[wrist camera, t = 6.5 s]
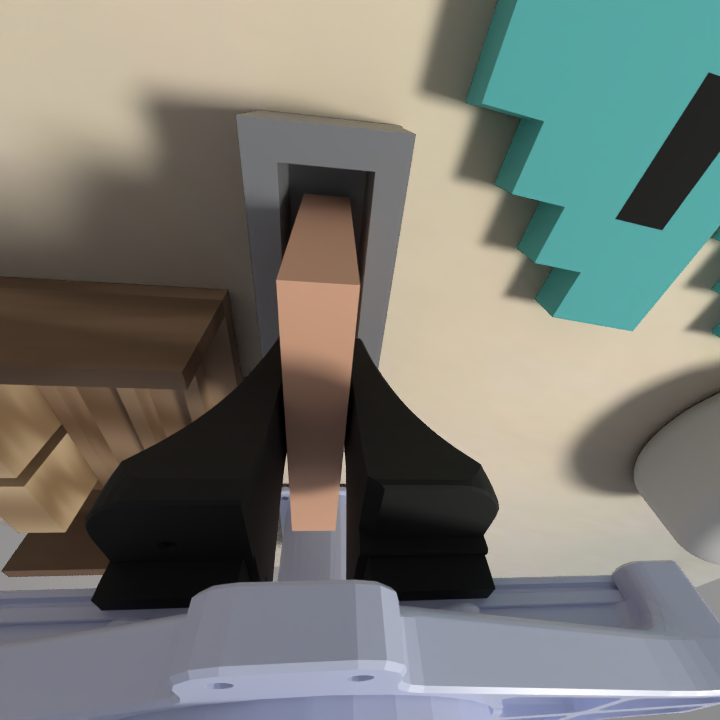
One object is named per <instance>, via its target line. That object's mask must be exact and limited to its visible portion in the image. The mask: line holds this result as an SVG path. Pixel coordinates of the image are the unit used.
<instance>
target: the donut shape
mask: <svg viewBox="0 0 720 720" xmlns="http://www.w3.org/2000/svg"><path fill="white" fill-rule="evenodd" d="M634 482H635V485H636V488H637V490H638V492H639V493H640V495H641V496H642V497H643V498H644V500H645V501H646V502H647V504H648V505H649V506H650V508H651V509H652V510H653V512H654V513H655V514H656V515H657V517H658V518H659V519H660V521H661V522H662V523H663V525H664V526H665V527H666V529H667V530H668V531H669V532H670V534H671V535H672V536H673V538H674V539H675V540H676V541H677V543H678V544H679V545H680V546H681V547H683V548H684V549H685V550H686V551H688V552H689V553H691V554H692V555H694V556H696V557H698V558H700V559H702V560H704V561H707V562H710V563H714V564H718V565H720V393H718V394H715V395H713V396H711V397H709V398H707V399H705V400H703V401H702V402H700V403H698V404H696V405H694V406H693V407H691V408H689V409H688V410H686V411H685V412H683V413H682V414H680V415H679V416H677V417H676V418H674V419H673V420H672V421H670V422H669V423H668V424H666V425H665V426H664V427H663V428H662V429H661V430H659V431H658V432H657V433H656V434H655V435H654V436H653V437H652V438H651V439H650V440H649V442H648V443H647V444H646V445H645V447H644V448H643V449H642V451H641V453H640V454H639V456H638V458H637V461H636V463H635V467H634Z"/></svg>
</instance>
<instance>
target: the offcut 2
mask: <svg viewBox="0 0 720 720" xmlns="http://www.w3.org/2000/svg"><path fill="white" fill-rule="evenodd" d="M97 481H98V479H97V477H96V476H95V474H94V472H93V471H92V469H91V468H90V466H89V465H88V463H87V462H86V460H85V459H84V457H83V456H82V454H81V453H80V451H79V450H78V448H77V446H76V445H75V443H74V442H73V440H72V439H71V437H70V436H69V434H68V433H67V431H66V430H65V428H64V427H63V425H62V424H61V426H60V427H59V428H58V429H57V430H56V432H55V433H54V434H53V435H52V436H51V438H50V439H49V440H48V441H47V442H46V443H45V445H44V446H43V447H42V448H41V449H40V451H39V452H38V453H37V454H36V455H35V457H34V458H33V459H32V460H31V461H30V463H29V464H28V465H27V466H26V467H25V468H24V470H23V471H22V472H21V473H20V474H19V476H18V477H17V478H0V517H1V518H3V519H4V520H5V521H6V522H7V523H8V524H9V525H10V526H11V527H12V528H13V529H15V530H16V531H17V532H18V533H50V532H66V531H67V529H68V527H69V526H70V524H71V523H72V521H73V519H74V518H75V516H76V514H77V513H78V511H79V510H80V508H81V506H82V505H83V503H84V502H85V500H86V498H87V497H88V495H89V494H90V492H91V490H92V489H93V487H94V486H95V484H96V482H97Z"/></svg>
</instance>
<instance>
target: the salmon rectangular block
mask: <svg viewBox="0 0 720 720" xmlns="http://www.w3.org/2000/svg"><path fill="white" fill-rule="evenodd" d="M276 285H277V301H278V317H279V333H280V348H281V364H282V380H283V396H284V412H285V427H286V443H287V459H288V475H289V490H290V506H291V522H292V531H335V529H336V519H337V509H338V500H339V490H340V480H341V470H342V460H343V450H344V440H345V430H346V421H347V411H348V401H349V391H350V381H351V371H352V361H353V352H354V342H355V332H356V322H357V312H358V302H359V292H360V279H359V271H358V263H357V255H356V247H355V238H354V230H353V222H352V214H351V206H350V197H339V196H327V195H316V194H304V195H303V198H302V201H301V204H300V208H299V211H298V214H297V217H296V220H295V223H294V226H293V229H292V232H291V236H290V239H289V242H288V245H287V248H286V251H285V254H284V257H283V260H282V264H281V267H280V270H279V273H278V276H277V279H276Z"/></svg>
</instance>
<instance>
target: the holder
mask: <svg viewBox="0 0 720 720" xmlns="http://www.w3.org/2000/svg"><path fill="white" fill-rule="evenodd" d="M236 120H237V130H238V139H239V149H240V158H241V168H242V177H243V187H244V196H245V206H246V215H247V225H248V234H249V243H250V253H251V262H252V272H253V281H254V291H255V300H256V310H257V319H258V329H259V338H260V348H261V357H262V359H263V358H264V356H265V355H266V354H267V353H268V351H269V350H270V349H271V347H272V346H273V344H274V343H275V342H276V340H277V339H278V337H279V336H280V333H279V317H278V301H277V285H276V279H277V276H278V273H279V270H280V267H281V264H282V260H283V257H284V254H285V251H286V248H287V245H288V242H289V239H290V236H291V232H292V229H293V226H294V223H295V220H296V217H297V214H298V211H299V208H300V204H301V201H302V198H303V195H304V194H316V195H327V196H339V197H350V206H351V214H352V222H353V230H354V238H355V247H356V255H357V263H358V271H359V279H360V292H359V302H358V312H357V322H356V332H355V338H360V339H361V340H362V341H363V343H364V345H365V347H366V349H367V351H368V353H369V355H370V357H371V359H372V360H373V362H374V364H375V365H376V367H377V368H378V366H379V360H380V354H381V347H382V341H383V335H384V329H385V322H386V316H387V310H388V304H389V298H390V291H391V285H392V279H393V273H394V267H395V260H396V254H397V248H398V242H399V236H400V229H401V223H402V217H403V211H404V204H405V198H406V192H407V186H408V180H409V173H410V167H411V161H412V155H413V149H414V142H415V136H416V134H414V133H412V132H410V131H408V130H406V129H404V128H403V127H402V126H399V125H391V124H382V123H373V122H364V121H355V120H346V119H337V118H327V117H318V116H309V115H300V114H291V113H282V112H273V111H264V110H255V111H254V112H248V113H243V114H237V115H236ZM343 452H345V449H344V450H343Z"/></svg>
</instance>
